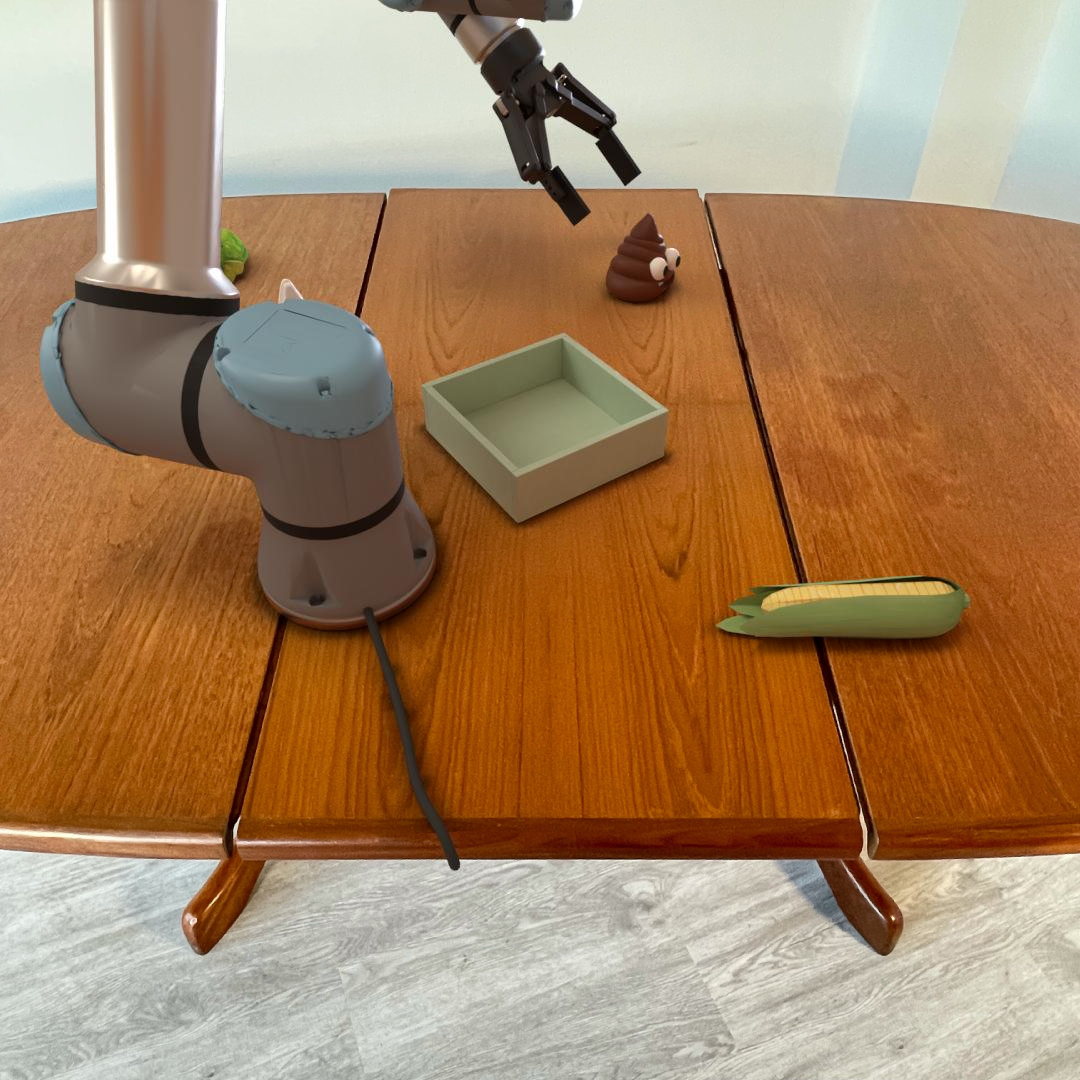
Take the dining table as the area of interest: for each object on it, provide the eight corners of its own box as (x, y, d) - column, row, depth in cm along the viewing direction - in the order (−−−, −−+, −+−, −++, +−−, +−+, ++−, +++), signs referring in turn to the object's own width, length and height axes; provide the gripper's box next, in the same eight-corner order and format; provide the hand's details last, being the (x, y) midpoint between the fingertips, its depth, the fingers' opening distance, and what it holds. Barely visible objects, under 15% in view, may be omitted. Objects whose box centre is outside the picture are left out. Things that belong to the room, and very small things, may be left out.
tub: (664, 456, 88) (669, 410, 85) (517, 523, 81) (516, 477, 78) (563, 376, 99) (564, 332, 95) (426, 429, 92) (420, 384, 88)
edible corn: (968, 646, 71) (987, 609, 67) (720, 654, 70) (728, 616, 67) (944, 599, 74) (962, 561, 71) (709, 606, 74) (716, 568, 71)
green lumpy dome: (266, 264, 119) (257, 228, 116) (205, 298, 112) (194, 261, 109) (206, 245, 124) (196, 210, 120) (145, 277, 117) (132, 241, 113)
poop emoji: (632, 263, 119) (637, 194, 112) (688, 280, 115) (697, 210, 108) (592, 293, 113) (594, 222, 106) (649, 312, 109) (655, 240, 103)
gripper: (537, 42, 114) (633, 180, 119) (423, 98, 99) (539, 254, 104) (573, 0, 109) (672, 147, 113) (459, 52, 93) (579, 220, 98)
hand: (609, 199), depth 109 cm, fingers open, 13 cm apart
